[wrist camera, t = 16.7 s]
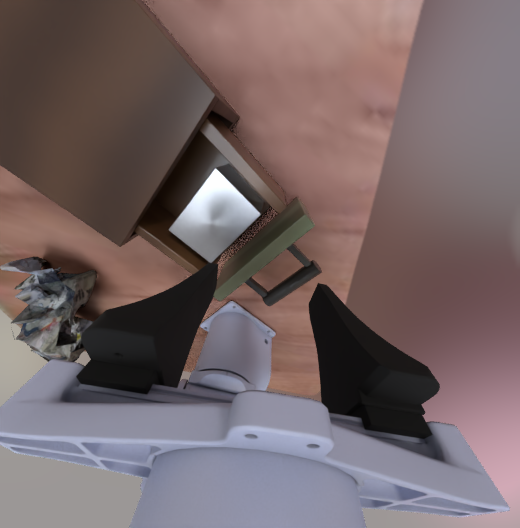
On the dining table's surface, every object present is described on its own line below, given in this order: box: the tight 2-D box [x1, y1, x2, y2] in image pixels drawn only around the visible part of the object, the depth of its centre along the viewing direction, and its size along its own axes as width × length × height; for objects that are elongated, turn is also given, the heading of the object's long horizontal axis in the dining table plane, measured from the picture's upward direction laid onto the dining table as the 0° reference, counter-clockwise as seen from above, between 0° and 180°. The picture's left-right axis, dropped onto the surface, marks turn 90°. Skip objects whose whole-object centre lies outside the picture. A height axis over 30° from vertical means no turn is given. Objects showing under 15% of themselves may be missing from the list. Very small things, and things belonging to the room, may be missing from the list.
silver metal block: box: [168, 164, 264, 263], centre depth 16 cm, size 6×4×4 cm
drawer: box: [134, 110, 322, 306], centre depth 17 cm, size 18×11×6 cm, turn 45°
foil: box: [0, 257, 97, 362], centre depth 26 cm, size 12×11×15 cm
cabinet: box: [0, 0, 239, 247], centre depth 13 cm, size 14×12×7 cm
